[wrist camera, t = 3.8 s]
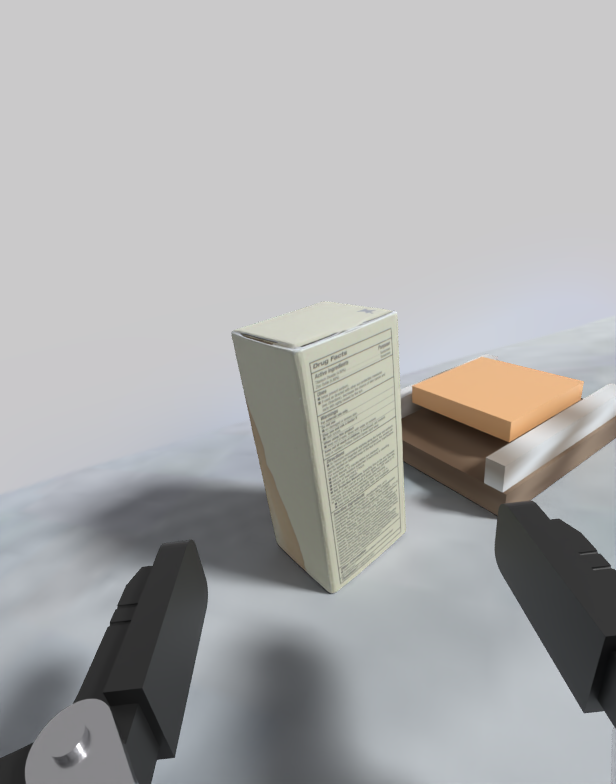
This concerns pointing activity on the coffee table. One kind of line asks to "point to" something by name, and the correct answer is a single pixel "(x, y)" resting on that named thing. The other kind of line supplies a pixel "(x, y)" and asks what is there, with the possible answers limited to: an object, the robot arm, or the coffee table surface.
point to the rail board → (505, 448)
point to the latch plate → (497, 396)
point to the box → (328, 433)
